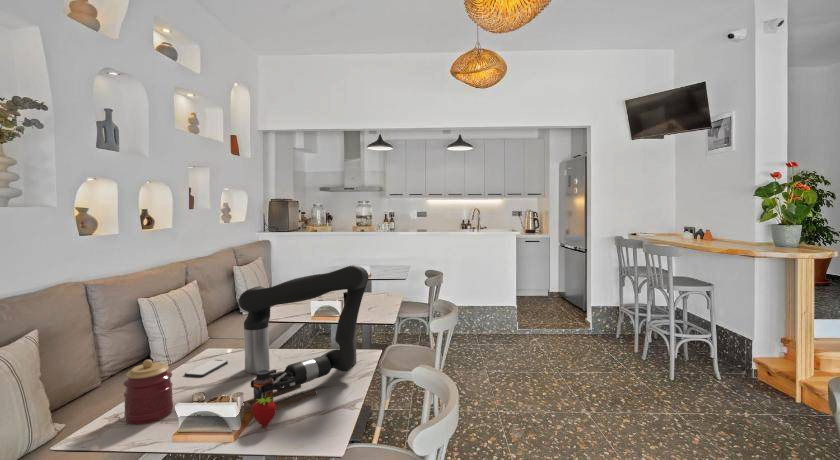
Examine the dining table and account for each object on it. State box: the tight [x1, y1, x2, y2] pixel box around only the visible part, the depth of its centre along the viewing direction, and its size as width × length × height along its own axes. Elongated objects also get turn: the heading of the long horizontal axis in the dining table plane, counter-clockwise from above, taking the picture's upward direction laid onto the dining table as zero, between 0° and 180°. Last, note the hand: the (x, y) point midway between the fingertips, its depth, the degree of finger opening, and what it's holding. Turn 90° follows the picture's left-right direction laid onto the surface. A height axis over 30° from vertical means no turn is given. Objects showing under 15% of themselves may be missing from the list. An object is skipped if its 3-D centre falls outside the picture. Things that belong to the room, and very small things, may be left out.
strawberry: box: [250, 395, 278, 428], centre depth 125 cm, size 6×8×10 cm
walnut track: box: [242, 384, 317, 412], centre depth 143 cm, size 11×21×1 cm, turn 137°
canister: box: [122, 359, 174, 425], centre depth 133 cm, size 13×13×18 cm
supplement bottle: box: [253, 369, 274, 404], centre depth 138 cm, size 6×6×11 cm
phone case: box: [184, 359, 229, 378], centre depth 172 cm, size 9×2×16 cm
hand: (256, 387), depth 137 cm, fingers closed on supplement bottle, 6 cm apart
